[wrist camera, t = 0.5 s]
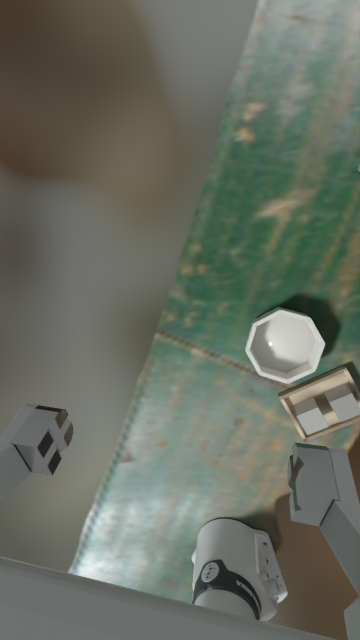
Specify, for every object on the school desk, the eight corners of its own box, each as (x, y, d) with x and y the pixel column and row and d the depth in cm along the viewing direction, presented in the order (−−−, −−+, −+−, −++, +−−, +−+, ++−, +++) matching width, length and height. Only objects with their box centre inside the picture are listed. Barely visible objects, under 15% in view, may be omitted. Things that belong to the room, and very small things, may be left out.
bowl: (329, 355, 58) (335, 362, 53) (267, 383, 61) (269, 392, 57) (296, 296, 57) (300, 299, 53) (236, 328, 60) (235, 333, 56)
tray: (369, 411, 58) (372, 415, 56) (303, 437, 61) (304, 442, 60) (343, 364, 57) (346, 367, 56) (278, 393, 61) (278, 397, 59)
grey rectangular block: (354, 402, 57) (363, 413, 53) (333, 410, 59) (340, 422, 54) (344, 383, 57) (351, 393, 53) (323, 392, 58) (329, 402, 54)
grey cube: (323, 414, 59) (329, 426, 55) (303, 423, 60) (307, 435, 56) (313, 396, 59) (318, 407, 55) (293, 405, 60) (296, 416, 56)
